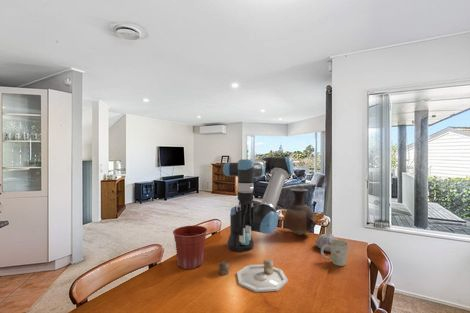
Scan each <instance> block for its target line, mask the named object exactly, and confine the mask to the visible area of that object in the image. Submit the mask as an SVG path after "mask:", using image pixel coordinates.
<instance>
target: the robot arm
mask: <svg viewBox="0 0 470 313" xmlns="http://www.w3.org/2000/svg"><path fill="white" fill-rule="evenodd" d="M294 168H295V166H294V162H293V159H292V157H290V156H265V157H262V158H256V159H255V160H253V159H251V158H250V159H247V158H246V159H242V158H241V159H239V160H238V161H236V162H232V161H231V162H225V163H224V164H223V166H222V172H223V175H224V176H226V177H237V201H238V205H235V206H232V208H230V214H229V216H230V218H229V220H230V221H229V222H230V223H229V224H230V228H229V230H230V232H229V233H230V234H229V237H228V240H227V245H226V246H227V249H229V250H231V251H233V252H249V251H251V250H252V249H254V245H255V244H254V240H253V236H252V232H257V233H259V234H267V235H268V234H273V233H274V232H275V231H276V230H277V227H278V221H279V214H278V213H277V210H276V207H277V204H278V201H279V199H280V195H281V192H282V189H283V187H284V185H285V184H284V183H285V181H286V180H288V179H289V176H293V174H294V170H295V169H294ZM264 174H267V175H270V178H269V181H268V183H267V184H268V185H267V186H266V189H265V192H264V194H263V197H262V199H261V201H260V203H259V204H257V205H256V203H254V202H252V201H253V200H254V179H256V178H262V177H263V176H264ZM245 232H249V244H248V245H243V244H241V242H243V243H245Z"/></svg>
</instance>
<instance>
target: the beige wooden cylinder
mask: <svg viewBox="0 0 470 313" xmlns="http://www.w3.org/2000/svg"><path fill="white" fill-rule="evenodd" d="M263 264H264V273H265V274H267V275H271V274H273V267H274V260H272V259H267V258H266V259H264V260H263Z"/></svg>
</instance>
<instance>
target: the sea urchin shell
mask: <svg viewBox="0 0 470 313" xmlns="http://www.w3.org/2000/svg"><path fill="white" fill-rule="evenodd" d="M331 240H339V238H337V236H335V235H333V234H331V233H323V234H320V235H319V236H318V237H317V239H316V240H315V245H316V247H317V248H319V250H321V248H322V247H323V246H324V245H330V241H331ZM323 251H324V252H329V253H331V248H328V247H326V248H325V249H324V250H323Z"/></svg>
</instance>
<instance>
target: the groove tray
mask: <svg viewBox="0 0 470 313" xmlns="http://www.w3.org/2000/svg"><path fill="white" fill-rule="evenodd" d="M236 277H237V282H238V285H239V286H242V287H244V288H246V289H248V290H251V291H252V292H255V293H266V292H267V293H268V292H278V291H280V290H281V289H282V288H283V287H284V285H286V284H287V283H288V282H289V279H288V278H287V276H286V274H285V273H284V271H283V269H280V268H278V267H275V266H273V274H271V275H267V274H265V273H264V263H263V264H248V265H246V266H244V267H243V268H241V269H240V270H238V271H236Z"/></svg>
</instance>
